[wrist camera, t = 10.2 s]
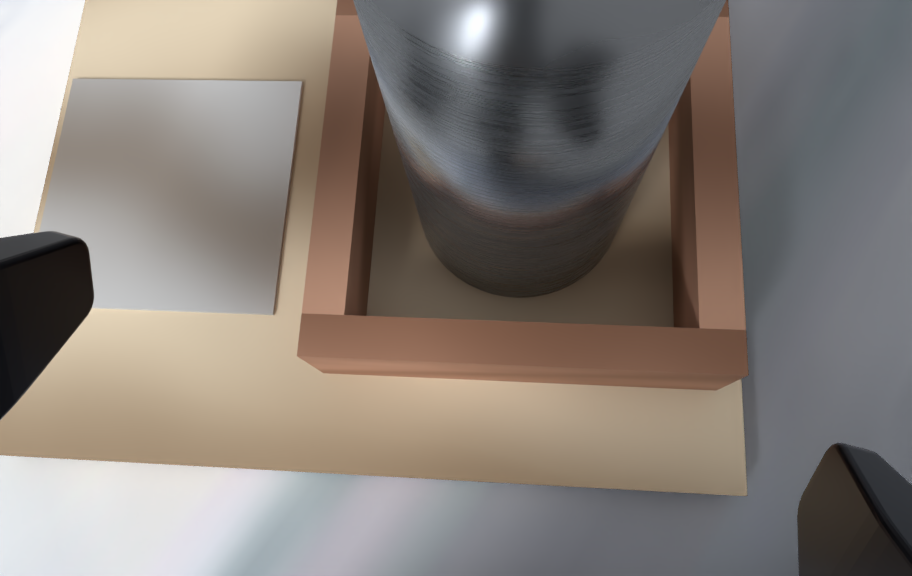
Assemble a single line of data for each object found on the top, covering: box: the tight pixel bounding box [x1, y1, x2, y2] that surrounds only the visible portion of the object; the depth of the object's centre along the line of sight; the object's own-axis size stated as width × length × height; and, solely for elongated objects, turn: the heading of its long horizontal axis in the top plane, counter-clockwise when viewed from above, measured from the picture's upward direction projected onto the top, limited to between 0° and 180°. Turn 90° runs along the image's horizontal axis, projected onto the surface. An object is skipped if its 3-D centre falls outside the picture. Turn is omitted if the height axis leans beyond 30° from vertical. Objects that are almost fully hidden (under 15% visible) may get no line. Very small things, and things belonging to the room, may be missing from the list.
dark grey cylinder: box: [353, 0, 726, 298], centre depth 12 cm, size 4×4×9 cm
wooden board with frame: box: [0, 0, 749, 496], centre depth 15 cm, size 12×16×3 cm
